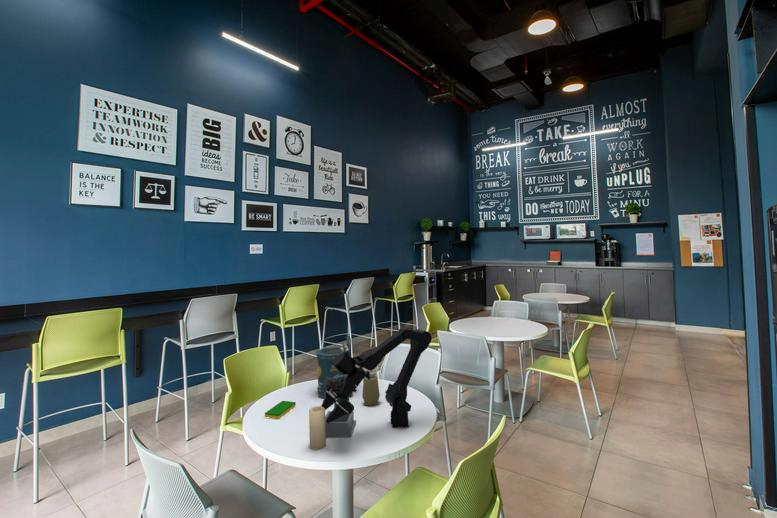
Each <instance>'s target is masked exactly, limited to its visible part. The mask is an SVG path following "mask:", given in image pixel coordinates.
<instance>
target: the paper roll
mask: <svg viewBox="0 0 777 518" xmlns="http://www.w3.org/2000/svg"><path fill="white" fill-rule="evenodd" d="M325 416H326V410H325V408H324V407H322V406H321V405H320V406H319V405H318V406H312V407H311V408H309V409H308V424H309V425H308V427H309V432H308V433H309V449H311V450H314V451H319V450H323V449H324V448H326V446H327V445H326V444H327V441H326V440H327V439H326V438H327V437H326V433H325Z"/></svg>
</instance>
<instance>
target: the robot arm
mask: <svg viewBox="0 0 777 518" xmlns="http://www.w3.org/2000/svg"><path fill="white" fill-rule="evenodd" d="M432 339H433V337H432V334H431V333H430V332H429V331H428V330H423V329H420V328H417V329H409V328H405V327H401V328H398V330H397V331H396V332H394V333H393V334H392V335H391V336H389V337H388V338H386V339H385V340H384V341H382V342H381V343H380V344H378V345H376V346H374V347H372V348H369V349H367V350H365V351H362V352H361V353H360V354H359V355H356V356H353V357H352V355H351V356H350V355H349V354H348V353H347V352H346V351H344V352H343V353H341V354H339V355H338V356H336V357H335V359H334V360H333V362H332V365H333V366H334V367H335V368H336V369H337V370H339V371H340V372H341V373H342V374H343V375H345V374H347V376H346V377H347V378H346V377H345V378H344V379H343V378H341V379H340V380H336V379H333V378H330V377H326V379H325V381H324V383H323V385H324V386H325V387H324V388H325V389H326V391H325V390H324V392H325V398H324V399H323V401H322V403H321V405H320V406H322V407H324V408H325V411H326V410H328V409H329V408H330V407H332V406H333V405H334V406H333V407H334V408H333V409H332V410H331V411H332V412H331V413H330V415H329V417H328V418H327V420H326V422H327V423H330V422H332V421H334V420H336V419H337V418H339V417H342V416H344V415H346V414H347V415H348V412H349V413H350V414H351V413H352V412H353V411H354V410H355V405H353V403H352V402H351V399H349V398H351V397H350V395H351V394H352V395H353V393H357V392H358V390H357V388H358V386H359V385H360V384H362V381H363V380H364V378H365V377H366V378H367V379H368V380H370V372H369V371H368V370H373V371H374V370H375V369H376V368H377V367H378V366H379V365H380V364H381V362H382V360H383V359H384V358H385V357H386V356H387V355H388V354H390V352H392V351H393V350H394V349H396V348H397V347H398V346H400V345H401V344H402V343H404V342H405V341H406V340H410V341H409V343H410V348H409V351H408V353H407V356H406V358H405V361H404V363H403V364H402V367H401V369H400V372H399V374H398V376H397V379H396V380H395V382H394V383H389V384H388V387H387V388H386V390H385V392H384V393H385V395H384V398H385V402H387V403H388V405H389V406H390V407H391V411H390V424H391V428H409V420H410V419H409V412H411V409H412V404H410V403H409V402H408V401H407V397H408V386H409V383H410V381H411V378H412V376H413V374H414V371H415V369H416V367H417V365H418V362H419V360H420V358H421V355H422V353H424V351H425V350H427V349H428V347H430V345H431V342H432ZM425 352H426V351H425ZM365 369H366V370H365ZM335 398H336V399H335Z"/></svg>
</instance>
